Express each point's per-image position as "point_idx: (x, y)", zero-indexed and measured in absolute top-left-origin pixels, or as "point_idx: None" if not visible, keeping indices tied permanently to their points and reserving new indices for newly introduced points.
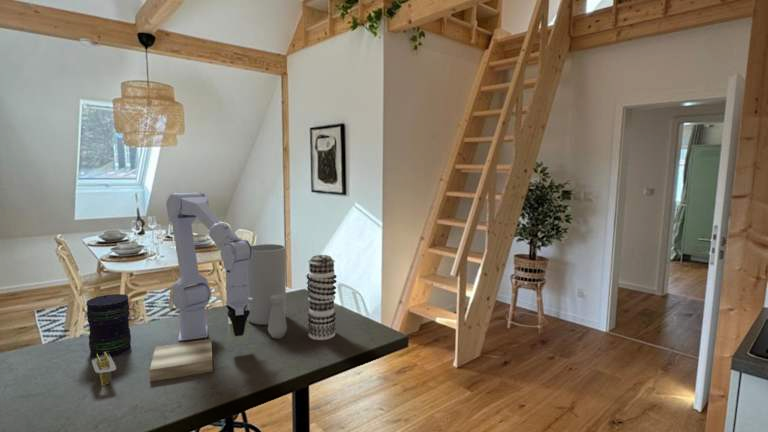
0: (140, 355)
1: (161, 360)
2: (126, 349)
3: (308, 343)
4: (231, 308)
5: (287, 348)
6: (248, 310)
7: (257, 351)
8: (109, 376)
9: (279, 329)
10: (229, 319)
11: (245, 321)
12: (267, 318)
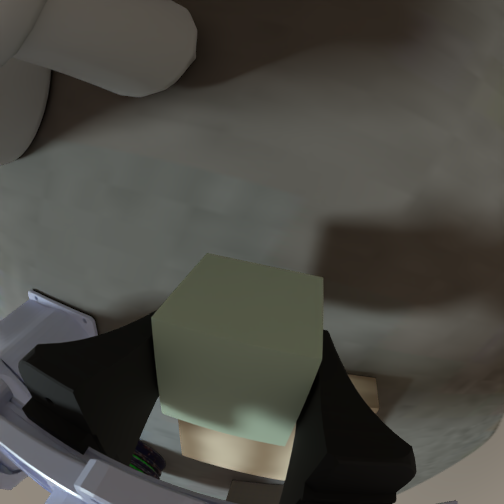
0: (169, 441)
1: (280, 471)
2: (143, 448)
3: None
4: (128, 447)
5: (349, 48)
6: (348, 468)
7: (306, 191)
8: (280, 497)
9: (186, 36)
10: (201, 422)
11: (364, 403)
12: (29, 93)
